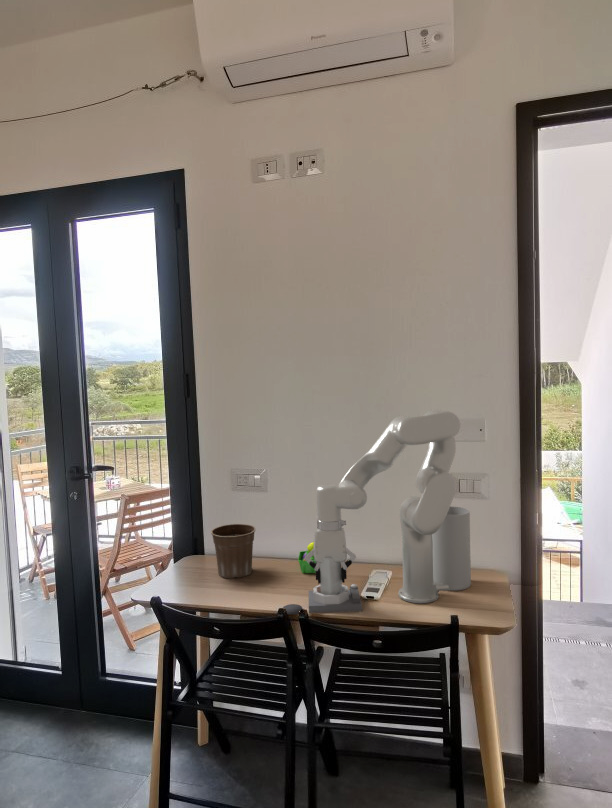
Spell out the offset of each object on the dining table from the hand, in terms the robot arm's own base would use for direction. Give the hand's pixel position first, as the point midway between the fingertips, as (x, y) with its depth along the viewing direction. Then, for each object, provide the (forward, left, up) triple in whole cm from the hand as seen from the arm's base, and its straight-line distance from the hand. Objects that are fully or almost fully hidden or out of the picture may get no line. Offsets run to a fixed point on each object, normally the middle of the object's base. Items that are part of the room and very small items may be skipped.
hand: (331, 581), depth 168 cm
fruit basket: (+6, -32, -7) cm, 33 cm away
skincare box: (0, 0, -4) cm, 4 cm away
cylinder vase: (-41, -13, -7) cm, 43 cm away
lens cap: (+12, +4, -7) cm, 15 cm away
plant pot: (+34, -30, -7) cm, 46 cm away
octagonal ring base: (-1, 0, -7) cm, 7 cm away
